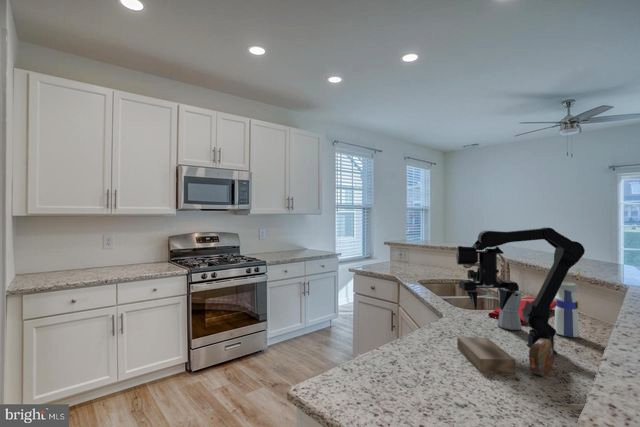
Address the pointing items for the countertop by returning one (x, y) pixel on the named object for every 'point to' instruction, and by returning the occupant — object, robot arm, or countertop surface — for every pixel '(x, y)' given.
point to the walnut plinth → (486, 355)
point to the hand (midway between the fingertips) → (488, 309)
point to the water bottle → (567, 310)
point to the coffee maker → (510, 312)
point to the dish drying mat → (522, 305)
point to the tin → (541, 356)
